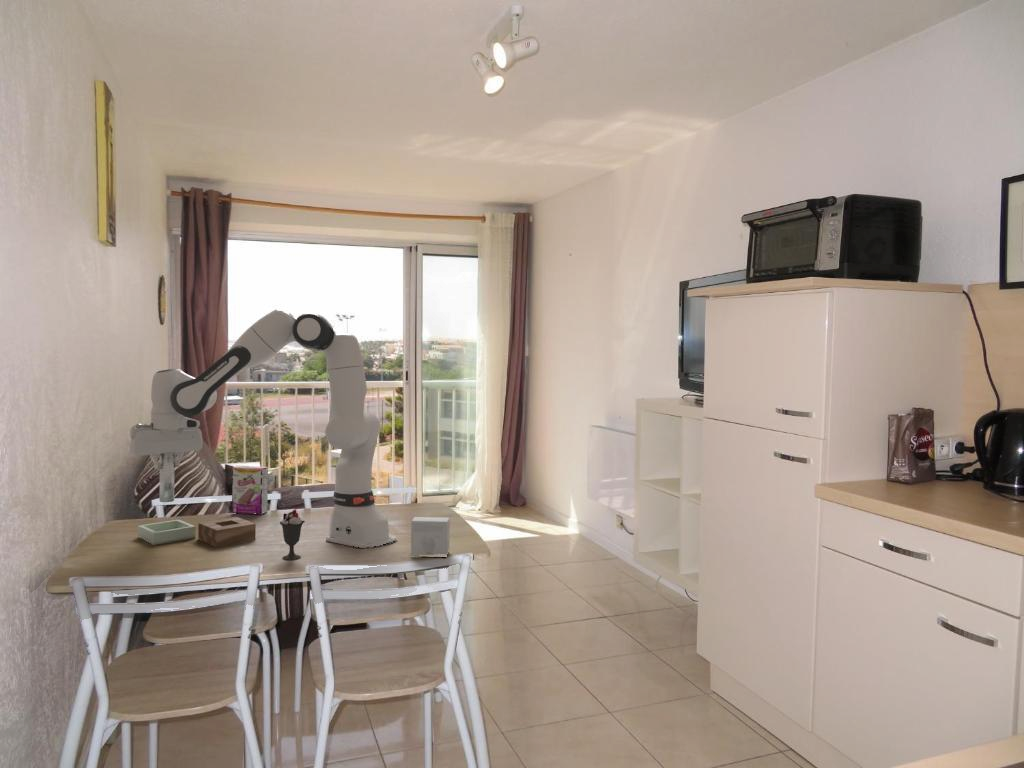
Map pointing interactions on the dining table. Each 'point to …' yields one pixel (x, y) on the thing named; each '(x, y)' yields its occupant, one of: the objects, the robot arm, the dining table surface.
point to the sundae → (291, 532)
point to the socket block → (226, 531)
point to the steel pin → (167, 477)
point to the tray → (166, 532)
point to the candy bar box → (249, 489)
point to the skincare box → (429, 535)
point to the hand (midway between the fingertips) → (167, 467)
